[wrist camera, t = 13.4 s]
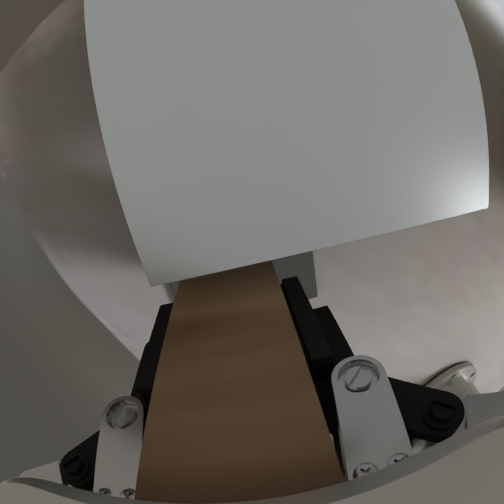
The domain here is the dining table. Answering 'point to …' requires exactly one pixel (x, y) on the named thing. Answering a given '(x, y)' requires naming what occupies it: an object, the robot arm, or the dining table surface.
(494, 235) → the dining table surface
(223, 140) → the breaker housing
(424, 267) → the dining table surface
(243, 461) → the brown wooden bar
